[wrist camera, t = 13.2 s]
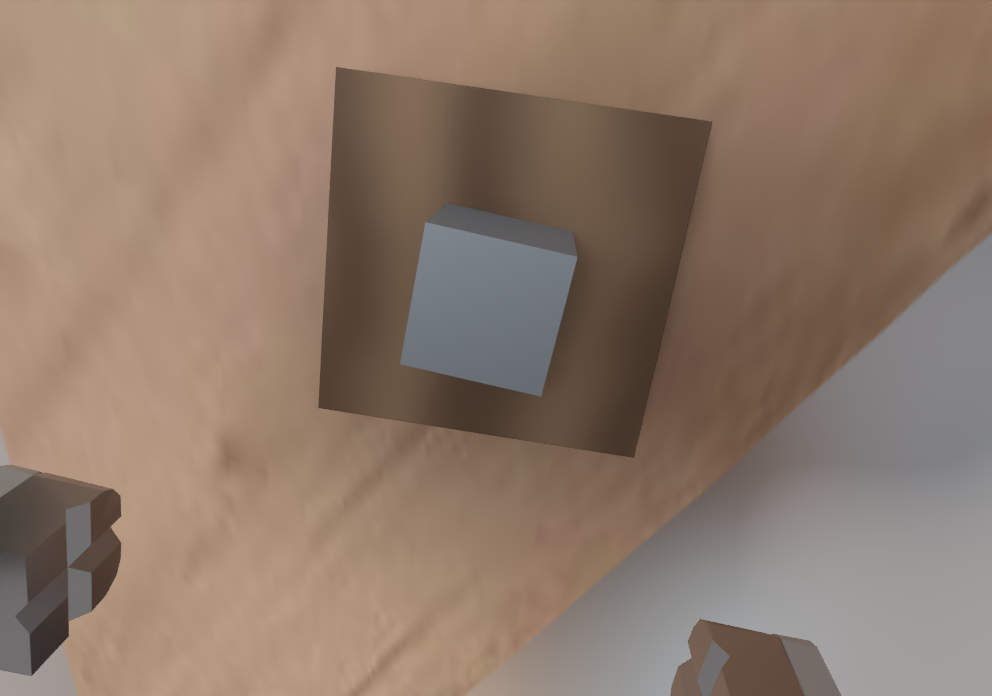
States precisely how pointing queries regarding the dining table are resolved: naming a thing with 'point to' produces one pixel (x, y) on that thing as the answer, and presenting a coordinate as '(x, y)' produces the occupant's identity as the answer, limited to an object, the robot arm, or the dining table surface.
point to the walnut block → (517, 194)
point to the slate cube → (488, 298)
